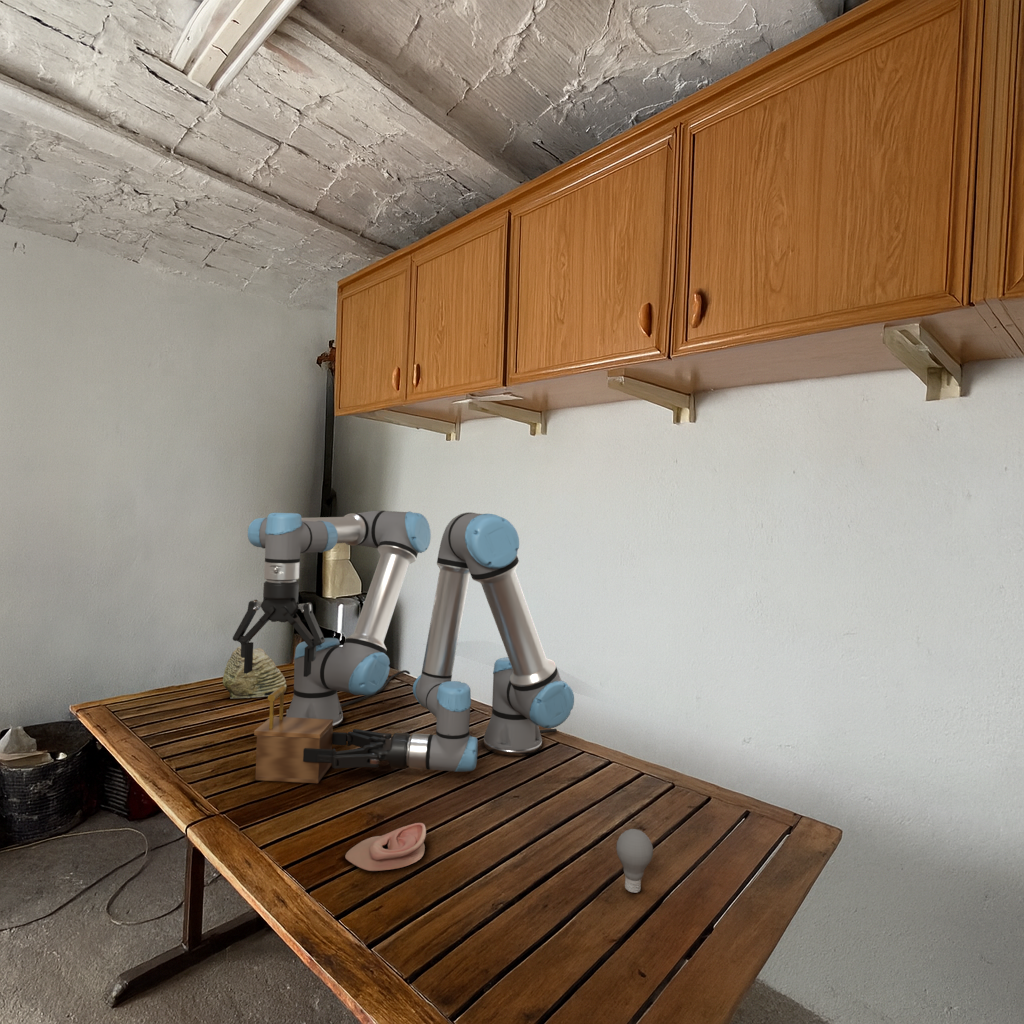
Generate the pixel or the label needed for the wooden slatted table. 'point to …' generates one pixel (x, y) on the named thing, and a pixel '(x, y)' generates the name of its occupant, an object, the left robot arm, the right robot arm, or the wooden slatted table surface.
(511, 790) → the wooden slatted table surface
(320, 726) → the panel with bar handle
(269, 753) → the chest
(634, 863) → the light bulb
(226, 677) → the fossil
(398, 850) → the anatomical model
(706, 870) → the wooden slatted table surface
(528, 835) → the wooden slatted table surface
